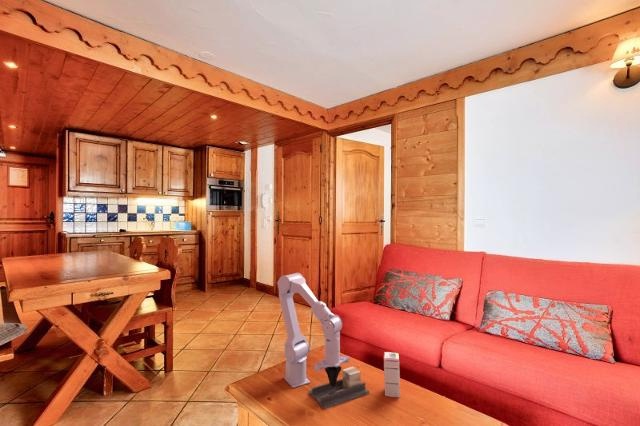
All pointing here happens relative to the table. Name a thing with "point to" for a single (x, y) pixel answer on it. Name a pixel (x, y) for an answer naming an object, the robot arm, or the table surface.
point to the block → (351, 377)
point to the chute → (336, 393)
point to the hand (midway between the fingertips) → (332, 385)
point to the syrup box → (391, 374)
